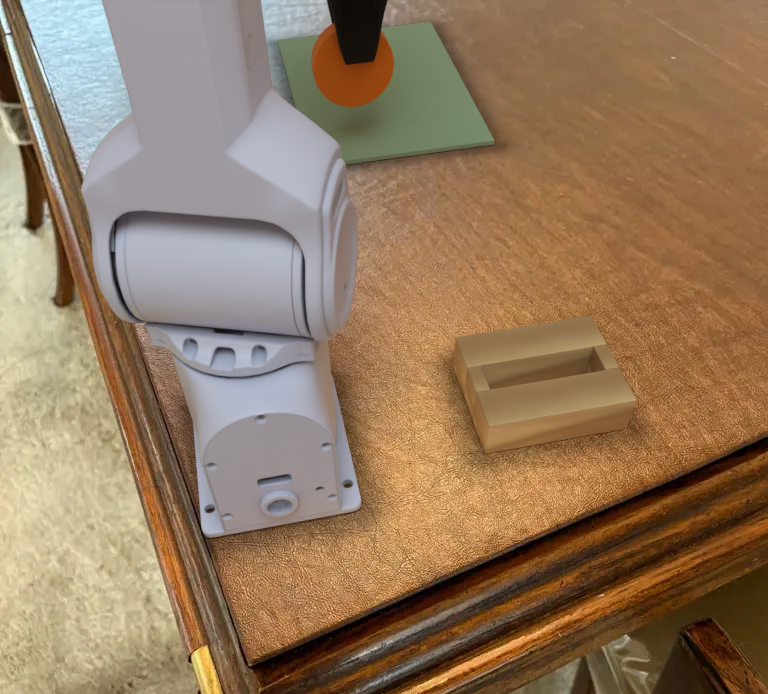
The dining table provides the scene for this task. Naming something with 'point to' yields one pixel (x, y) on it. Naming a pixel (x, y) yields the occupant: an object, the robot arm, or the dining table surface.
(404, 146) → the mat
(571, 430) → the holder
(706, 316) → the dining table surface
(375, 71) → the disc
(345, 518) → the dining table surface
